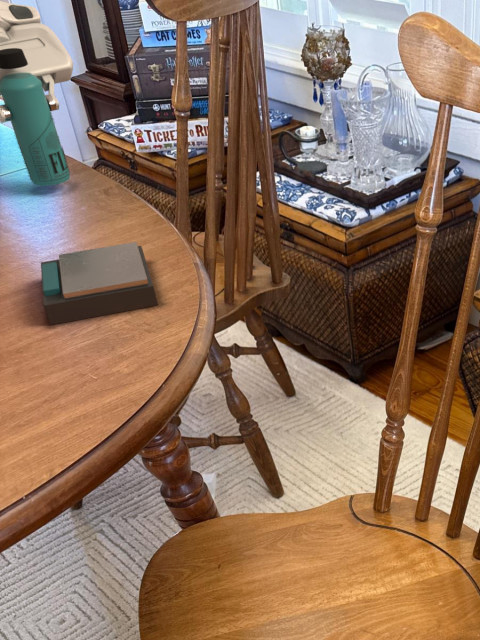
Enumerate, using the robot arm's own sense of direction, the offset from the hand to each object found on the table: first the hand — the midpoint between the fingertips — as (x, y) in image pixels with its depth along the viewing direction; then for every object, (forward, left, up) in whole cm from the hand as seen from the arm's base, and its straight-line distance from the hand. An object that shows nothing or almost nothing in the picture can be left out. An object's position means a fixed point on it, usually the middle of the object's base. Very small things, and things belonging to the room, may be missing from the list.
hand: (31, 113), depth 121 cm
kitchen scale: (+36, -22, -11) cm, 44 cm away
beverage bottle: (-1, 0, -12) cm, 12 cm away
